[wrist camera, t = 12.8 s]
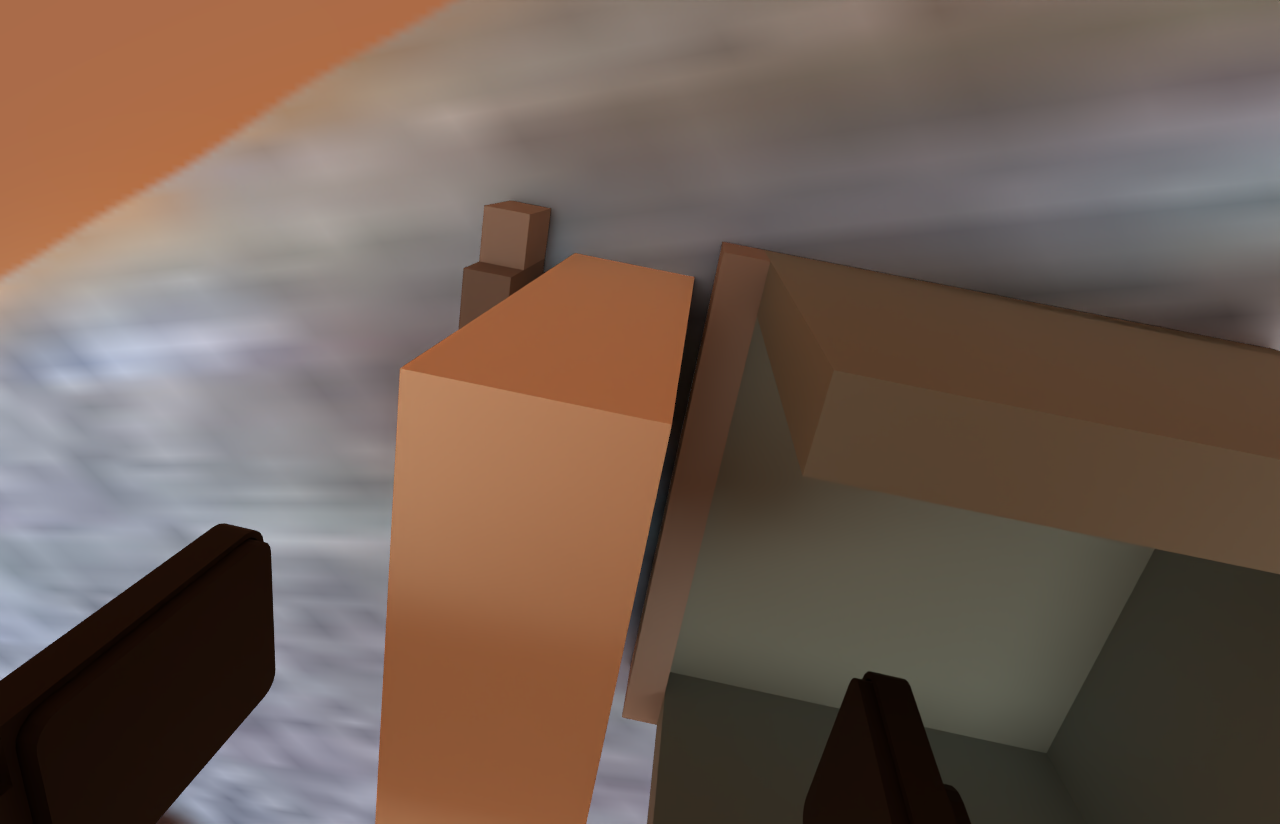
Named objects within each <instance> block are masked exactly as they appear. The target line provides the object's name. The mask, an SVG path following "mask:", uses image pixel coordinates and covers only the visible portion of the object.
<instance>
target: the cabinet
mask: <svg viewBox="0 0 1280 824" xmlns="http://www.w3.org/2000/svg"><path fill="white" fill-rule="evenodd" d="M550 213H551V208H546V207H541V206H536V205H531V204H526V203H520V202H515V201H506V202H501V203H495V204H490V205H484V216H483V227H482V238H481V250H480V261H479V262H477V263H475V264H472V265H470V266H468V267H465V268H464V271H463V283H462V295H461V308H460V320H459V329H461V328H462V327H464V326H465V325H467V324H468V323H470V322H471V321H473V320H474V319H476V318H477V317H479V316H480V315H482V314H483V313H485V312H486V311H488V310H489V309H491V308H492V307H494V306H496V305H497V304H499V303H500V302H502V301H503V300H505V299H506V298H508V297H509V296H511V295H512V294H514V293H515V292H517V291H518V290H520V289H521V288H523V287H524V286H526V285H527V284H529V283H530V282H532V281H533V280H535V279H536V278H538V277H539V276H541V275H543V269H544V261H545V253H546V245H547V237H548V229H549V221H550ZM867 671H872V672H876V673H880V674H885V675H889V676H894V677H898V678H902V679H906V680H907V681H908V682H909V684H910V686H911V689H912V692H913V695H914V698H915V701H916V704H917V707H918V710H919V713H920V716H921V719H922V722H923V725H924V728H925V731H926V734H927V737H928V740H929V743H930V746H931V749H932V752H933V755H934V758H935V761H936V764H937V767H938V770H939V772H940V775H941V778H942V781H943V784H948V785H951V786H953V787H954V788H955V789H956V790H957V791H958V792H959V794H960V796H961V798H962V800H963V802H964V805H965V808H966V810H967V813H968V816H969V819H970V822H971V824H1280V351H1278V350H1275V349H1271V348H1266V347H1261V346H1256V345H1251V344H1245V343H1240V342H1235V341H1230V340H1225V339H1220V338H1215V337H1209V336H1204V335H1199V334H1194V333H1189V332H1184V331H1179V330H1173V329H1168V328H1163V327H1158V326H1153V325H1148V324H1143V323H1137V322H1132V321H1127V320H1122V319H1117V318H1112V317H1107V316H1101V315H1096V314H1091V313H1086V312H1081V311H1076V310H1071V309H1065V308H1060V307H1055V306H1050V305H1045V304H1040V303H1035V302H1029V301H1024V300H1019V299H1014V298H1009V297H1004V296H999V295H993V294H988V293H983V292H978V291H973V290H968V289H963V288H957V287H952V286H947V285H942V284H937V283H932V282H927V281H921V280H916V279H911V278H906V277H901V276H896V275H891V274H885V273H880V272H875V271H870V270H865V269H860V268H855V267H850V266H844V265H839V264H834V263H829V262H824V261H819V260H814V259H808V258H803V257H798V256H793V255H788V254H783V253H778V252H772V251H767V250H762V249H757V248H752V247H747V246H742V245H736V244H731V243H726V242H722V247H721V251H720V256H719V261H718V265H717V270H716V274H715V279H714V284H713V288H712V293H711V297H710V302H709V307H708V311H707V316H706V320H705V325H704V330H703V334H702V339H701V343H700V348H699V353H698V357H697V362H696V367H695V371H694V376H693V380H692V385H691V390H690V394H689V399H688V403H687V408H686V413H685V417H684V422H683V426H682V431H681V436H680V440H679V445H678V449H677V454H676V459H675V463H674V468H673V472H672V477H671V482H670V486H669V491H668V495H667V500H666V505H665V509H664V514H663V519H662V523H661V528H660V532H659V537H658V542H657V546H656V551H655V555H654V560H653V565H652V569H651V574H650V578H649V583H648V588H647V592H646V597H645V601H644V606H643V611H642V615H641V620H640V624H639V629H638V634H637V638H636V643H635V647H634V652H633V657H632V661H631V666H630V672H629V678H628V684H627V690H626V696H625V702H624V708H623V714H622V717H624V718H628V719H633V720H637V721H642V722H646V723H651V724H655V725H657V730H656V740H655V750H654V760H653V770H652V780H651V790H650V800H649V810H648V820H647V824H803V809H804V803H805V799H806V796H807V793H808V791H809V788H810V786H811V783H812V780H813V778H814V775H815V772H816V770H817V767H818V764H819V762H820V759H821V757H822V754H823V751H824V749H825V746H826V743H827V741H828V738H829V736H830V733H831V730H832V728H833V725H834V722H835V720H836V717H837V714H838V712H839V709H840V707H841V704H842V701H843V699H844V696H845V693H846V691H847V688H848V685H849V683H850V681H851V680H852V679H853V678H858V679H862V678H863V676H864V674H865V673H866V672H867Z"/></svg>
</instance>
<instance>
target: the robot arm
mask: <svg viewBox="0 0 1280 824" xmlns="http://www.w3.org/2000/svg"><path fill="white" fill-rule="evenodd" d="M274 676H275V647H274V621H273V594H272V567H271V549H270V546H269V544H268V543H265V542H263V537H262V535H261V533H260V532H258V531H255V530H251V529H247V528H242V527H238V526H234V525H229V524H225V523H224V524H218V525H216V526H214V527H213V528H211V529H210V530H208V531H207V532H206V533H204V534H203V535H202V536H200V537H199V538H197V539H196V540H195V541H193V542H192V543H190V544H189V545H188V546H186V547H185V548H184V549H182V550H181V551H179V552H178V553H177V554H175V555H174V556H172V557H171V558H170V559H168V560H167V561H166V562H164V563H163V564H161V565H160V566H159V567H157V568H156V569H154V570H153V571H152V572H150V573H149V574H148V575H146V576H145V577H143V578H142V579H141V580H139V581H138V582H136V583H135V584H134V585H132V586H131V587H129V588H128V589H127V590H125V591H124V592H123V593H121V594H120V595H118V596H117V597H116V598H114V599H113V600H111V601H110V602H109V603H107V604H106V605H105V606H103V607H102V608H100V609H99V610H98V611H96V612H95V613H93V614H92V615H91V616H89V617H88V618H87V619H85V620H84V621H82V622H81V623H80V624H78V625H77V626H75V627H74V628H73V629H71V630H70V631H68V632H67V633H66V634H64V635H63V636H62V637H60V638H59V639H57V640H56V641H55V642H53V643H52V644H50V645H49V646H48V647H46V648H45V649H44V650H42V651H41V652H39V653H38V654H37V655H35V656H34V657H32V658H31V659H30V660H28V661H27V662H26V663H24V664H23V665H21V666H20V667H19V668H17V669H16V670H14V671H13V672H12V673H10V674H9V675H7V676H6V677H5V678H3V679H2V680H1V681H0V824H155V823H156V822H157V821H158V820H159V819H160V818H161V816H162V815H163V814H164V813H165V812H166V811H167V809H168V808H169V807H170V806H171V805H172V804H173V802H174V801H175V800H176V799H177V798H178V797H179V796H180V794H181V793H182V792H183V791H184V790H185V789H186V787H187V786H188V785H189V784H190V783H191V782H192V780H193V779H194V778H195V777H196V776H197V775H198V773H199V772H200V771H201V770H202V769H203V768H204V766H205V765H206V764H207V763H208V762H209V761H210V759H211V758H212V757H213V756H214V755H215V754H216V752H217V751H218V750H219V749H220V748H221V747H222V745H223V744H224V743H225V742H226V741H227V740H228V738H229V737H230V736H231V735H232V734H233V733H234V732H235V730H236V729H237V728H238V727H239V726H240V725H241V723H242V722H243V721H244V720H245V719H246V718H247V716H248V715H249V714H250V713H251V712H252V711H253V709H254V708H255V707H256V706H257V705H258V704H259V702H260V701H261V700H262V699H263V698H264V697H265V695H266V694H267V692H268V691H269V689H270V687H271V685H272V683H273V680H274ZM803 824H971V822H970V819H969V816H968V813H967V810H966V808H965V805H964V802H963V800H962V798H961V796H960V794H959V792H958V791H957V790H956V789H955V788H954V787H953V786H951V785H948V784H943V781H942V778H941V775H940V772H939V770H938V767H937V764H936V761H935V758H934V755H933V752H932V749H931V746H930V743H929V740H928V737H927V734H926V731H925V728H924V725H923V722H922V719H921V716H920V713H919V710H918V707H917V704H916V701H915V698H914V695H913V692H912V689H911V686H910V684H909V682H908V681H907V680H906V679H902V678H898V677H894V676H889V675H885V674H880V673H876V672H872V671H867V672H866V673H865V674H864V676H863V678H862V679H858V678H853V679H852V680H851V681H850V683H849V685H848V688H847V691H846V693H845V696H844V699H843V701H842V704H841V707H840V709H839V712H838V714H837V717H836V720H835V722H834V725H833V728H832V730H831V733H830V736H829V738H828V741H827V743H826V746H825V749H824V751H823V754H822V757H821V759H820V762H819V764H818V767H817V770H816V772H815V775H814V778H813V780H812V783H811V786H810V788H809V791H808V793H807V796H806V799H805V803H804V809H803Z"/></svg>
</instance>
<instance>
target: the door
mask: <svg viewBox="0 0 1280 824" xmlns="http://www.w3.org/2000/svg"><path fill="white" fill-rule="evenodd" d="M694 278H695V277H692V276H687V275H682V274H677V273H672V272H667V271H662V270H657V269H652V268H647V267H642V266H637V265H632V264H627V263H622V262H617V261H612V260H607V259H602V258H597V257H592V256H587V255H582V254H577V253H574V254H573V255H571V256H570V257H568V258H567V259H565V260H564V261H562V262H561V263H559V264H558V265H556V266H555V267H553V268H552V269H550V270H549V271H547V272H546V273H544V274H543V275H541V276H539V277H538V278H536V279H535V280H533V281H532V282H530V283H529V284H527V285H526V286H524V287H523V288H521V289H520V290H518V291H517V292H515V293H514V294H512V295H511V296H509V297H508V298H506V299H505V300H503V301H502V302H500V303H499V304H497V305H496V306H494V307H492V308H491V309H489V310H488V311H486V312H485V313H483V314H482V315H480V316H479V317H477V318H476V319H474V320H473V321H471V322H470V323H468V324H467V325H465V326H464V327H462V328H461V329H459V330H458V331H456V332H455V333H453V334H452V335H450V336H449V337H447V338H445V339H444V340H442V341H441V342H439V343H438V344H436V345H435V346H433V347H432V348H430V349H429V350H427V351H426V352H424V353H423V354H421V355H420V356H418V357H417V358H415V359H414V360H412V361H411V362H409V363H408V364H406V365H405V366H403V367H402V368H400V380H399V398H398V417H397V435H396V453H395V472H394V490H393V509H392V527H391V545H390V564H389V582H388V600H387V619H386V637H385V656H384V674H383V692H382V711H381V729H380V748H379V766H378V784H377V803H376V821H375V824H586V822H587V817H588V812H589V808H590V803H591V798H592V794H593V789H594V784H595V780H596V775H597V770H598V766H599V761H600V756H601V752H602V747H603V742H604V738H605V733H606V729H607V724H608V719H609V715H610V710H611V705H612V701H613V696H614V691H615V687H616V682H617V677H618V673H619V668H620V663H621V659H622V654H623V649H624V645H625V640H626V635H627V631H628V626H629V621H630V617H631V612H632V607H633V603H634V598H635V593H636V589H637V584H638V579H639V575H640V570H641V566H642V561H643V556H644V552H645V547H646V542H647V538H648V533H649V528H650V524H651V519H652V514H653V510H654V505H655V500H656V496H657V491H658V486H659V482H660V477H661V472H662V468H663V463H664V458H665V454H666V449H667V444H668V440H669V435H670V430H671V426H672V420H673V413H674V407H675V400H676V394H677V388H678V381H679V375H680V368H681V362H682V355H683V349H684V342H685V336H686V329H687V323H688V316H689V310H690V304H691V297H692V291H693V284H694Z"/></svg>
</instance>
